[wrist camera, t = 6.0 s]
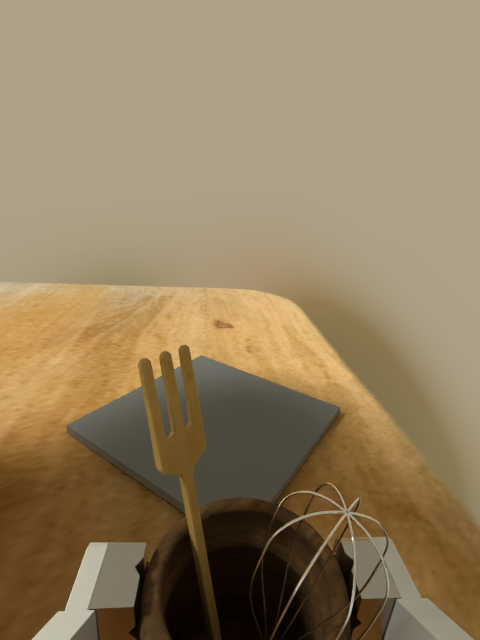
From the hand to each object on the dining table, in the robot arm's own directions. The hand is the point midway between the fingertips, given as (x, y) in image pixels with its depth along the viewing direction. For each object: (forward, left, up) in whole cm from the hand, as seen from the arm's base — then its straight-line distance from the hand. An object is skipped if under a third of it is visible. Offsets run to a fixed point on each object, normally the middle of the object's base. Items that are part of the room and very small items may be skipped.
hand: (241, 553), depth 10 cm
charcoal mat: (-9, +11, -7) cm, 16 cm away
